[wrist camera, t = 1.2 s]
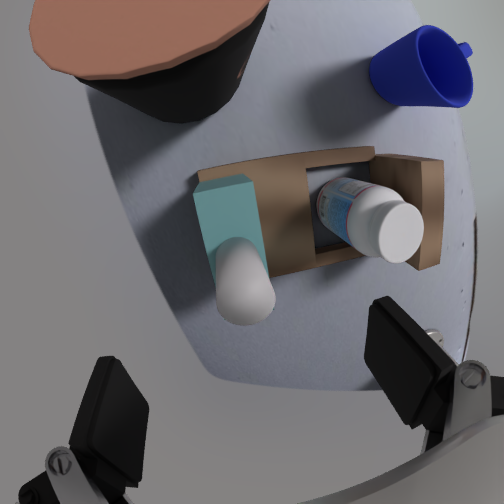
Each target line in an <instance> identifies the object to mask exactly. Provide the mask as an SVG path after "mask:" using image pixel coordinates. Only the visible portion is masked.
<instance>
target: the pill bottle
mask: <svg viewBox="0 0 504 504" xmlns="http://www.w3.org/2000/svg"><path fill="white" fill-rule="evenodd" d="M316 208H317V214H318V217H319V219H320V221H321V222H322V224H323V225H324V226H325V227H327V228H328V229H329V230H331V231H332V232H333V233H335V234H336V235H338V236H339V237H340V238H342V239H343V240H344V241H346V242H347V243H348V244H350V245H351V246H352V247H354V248H355V249H356V250H358V251H359V252H361V253H362V254H364V255H366V256H369V257H381V258H383V259H385V260H386V261H388V262H390V263H401V262H404V261H406V260H407V259H409V258H410V257H411V256H412V255H413V254H414V253H415V252H416V251H417V249H418V247H419V245H420V243H421V241H422V237H423V232H424V224H423V219H422V216H421V214H420V212H419V210H418V209H417V208H416V207H415V206H413V205H411V204H409V203H406V202H405V201H404V200H403V199H402V197H401V196H400V195H399V194H398V193H397V192H395V191H394V190H392V189H390V188H387V187H384V186H380V185H376V184H372V183H368V182H364V181H359V180H355V179H351V178H346V177H339V178H335V179H333V180H331V181H329V182H328V183H327V184H325V185H324V187H323V188H322V189H321V191H320V193H319V195H318V198H317V204H316Z"/></svg>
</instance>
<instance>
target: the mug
mask: <svg viewBox="0 0 504 504" xmlns="http://www.w3.org/2000/svg"><path fill="white" fill-rule="evenodd" d="M472 53H473V52H472V49H471V48H470V46H469V44H468V43H466V42H464V43H460V44H457V43H456V42H455V41H454V40H453V38H451V36H449V35H448V34H447V33H446V32H444V31H443V30H441V29H439V28H437V27H435V26H431V25H425V26H422V27H420V28H418V29H416V30H414V31H413V32H411V33H409V34H407V35H406V36H404V37H402V38H401V39H399V40H397V41H396V42H394V43H393V44H391V45H389V46H388V47H386V48H385V49H383V50H382V51H380V52H378V53H377V54H376V55H375V56H374V57H373V59H372V60H371V63H370V67H369V74H370V79H371V82H372V84H373V86H374V88H375V90H376V91H377V92H378V94H379V95H380V96H381V97H382V98H384V99H385V100H386V101H388V102H390V103H392V104H395V105H399V106H435V107H454V108H460V107H463V106H465V105H466V104H468V102H469V101H470V99H471V97H472V93H473V78H472V73H471V69H470V66H469V64H468V61H467V59H466V58H468V57H469V56H471V55H472Z"/></svg>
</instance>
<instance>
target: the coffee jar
mask: <svg viewBox="0 0 504 504" xmlns="http://www.w3.org/2000/svg"><path fill="white" fill-rule="evenodd" d="M269 1H270V0H35V2H34V6H33V11H32V15H31V20H30V25H29V31H30V37H31V41H32V46H33V50H34V52H35V53H36V54H37V55H38V56H39V57H40V58H41V59H42V60H43V61H44V62H45V63H46V65H47V66H49V68H50V69H52V70H56V71H59V72H63V73H66V74H69V75H73V76H74V77H75V78H76V79H78V80H79V81H80V82H82V83H84V84H86V85H88V86H90V87H93V88H95V89H97V90H99V91H101V92H103V93H106V94H108V95H110V96H112V97H114V98H116V99H118V100H120V101H122V102H124V103H126V104H128V105H130V106H132V107H134V108H136V109H138V110H140V111H142V112H144V113H146V114H148V115H150V116H152V117H155V118H157V119H159V120H161V121H164V122H173V123H186V122H192V121H198V120H201V119H203V118H205V117H207V116H209V115H212V114H214V113H216V112H217V111H218V110H219V109H221V108H222V107H223V106H224V105H225V104H226V103H228V102H229V101H230V99H231V98H232V96H233V95H234V93H235V91H236V90H237V88H238V87H239V84H240V81H241V79H242V76H243V73H244V70H245V68H246V65H247V62H248V60H249V57H250V54H251V52H252V49H253V47H254V44H255V42H256V39H257V37H258V34H259V32H260V29H261V27H262V24H263V22H264V20H265V16H266V12H267V8H268V5H269Z"/></svg>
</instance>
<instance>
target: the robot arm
mask: <svg viewBox="0 0 504 504" xmlns="http://www.w3.org/2000/svg"><path fill="white" fill-rule="evenodd" d="M443 344H444V338H443V335H442V334H441V333H440V332H439V331H438V330H433V329H431V330H427V331H424V330H423V329H422V328H421V327H420V326H419V325H418V324H417V323H416V322H415V321H414V320H413V319H412V318H411V317H410V316H409V315H408V314H407V313H406V312H405V311H404V310H403V309H402V308H401V307H400V306H399V305H398V304H397V303H396V302H395V301H394V300H393V299H392V298H391V297H389V296H385V297H382V298H379V299H376V300H374V301H373V304H372V305H370V307H369V316H368V327H367V336H366V344H365V352H364V360H365V363H366V365H367V366H368V368H369V369H370V371H371V372H372V374H373V375H374V377H375V378H376V380H377V382H378V383H379V385H380V386H381V388H382V389H383V391H384V393H385V394H386V395H387V397H388V399H389V400H390V402H391V404H392V405H393V407H394V408H395V410H396V412H397V413H398V415H399V416H400V418H401V420H402V421H403V423H404V424H405V425H408V424H409V425H410V427H411V429H414V428H416V427H417V426H419V425H421V424H423V426H424V427H425V429H426V432H425V437H424V441H423V446H422V450H421V454H420V455H419V456H417V457H416V458H414V459H412V460H410V461H408V462H406V463H404V464H402V465H400V466H398V467H396V468H395V469H392V470H390V471H388V472H386V473H384V474H382V475H380V476H377V477H375V478H373V479H370V480H368V481H366V482H363V483H361V484H358V485H356V486H353V487H350V488H348V489H345V490H342V491H339V492H336V493H333V494H330V495H327V496H323V497H320V498H317V499H313V500H310V501H306V502H302V503H298V504H504V377H498V376H490V373H489V370H488V369H487V367H486V366H484V365H483V364H482V363H481V362H479V361H475V360H467V361H464V362H462V363H461V364H458V363H457V362H456V361H455V360H454V359H453V358H452V357H451V356H450V355H449V354H448V353H447V352H446V350H445V349H444V348H443ZM148 415H149V405H148V403H147V401H146V400H145V398H144V397H143V395H142V394H141V392H140V391H139V389H138V388H137V387H136V385H135V384H134V382H133V380H132V379H131V377H130V376H129V374H128V373H127V371H126V370H125V368H124V367H123V365H122V363H121V361H120V360H118V359H116V358H115V357H114V356H104V357H99V358H98V360H97V362H96V365H95V367H94V370H93V372H92V375H91V377H90V380H89V383H88V385H87V388H86V391H85V394H84V396H83V399H82V402H81V405H80V408H79V411H78V414H77V417H76V420H75V423H74V426H73V430H72V433H71V436H70V440H69V445H70V449H68V448H67V447H62V446H61V447H56V448H54V449H52V450H51V451H50V452H49V453H48V455H47V457H46V460H45V468H46V471H45V472H43V473H41V474H40V475H38V476H37V477H35V478H34V479H32V480H31V481H29V482H27V483H26V484H24V485H23V486H22V487H21V489H20V490H19V495H18V496H19V503H20V504H134V503H133V502H132V501H131V500H130V498H129V497H128V496H127V494H126V493H125V487H136V488H138V482H140V481H141V479H142V471H143V460H144V449H145V440H146V431H147V423H148ZM19 503H18V502H16V503H15V504H19Z"/></svg>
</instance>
